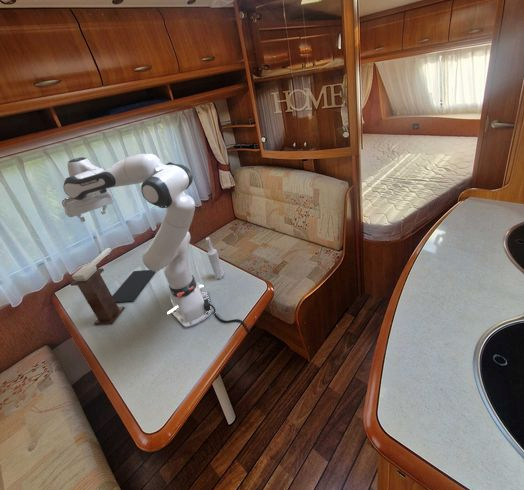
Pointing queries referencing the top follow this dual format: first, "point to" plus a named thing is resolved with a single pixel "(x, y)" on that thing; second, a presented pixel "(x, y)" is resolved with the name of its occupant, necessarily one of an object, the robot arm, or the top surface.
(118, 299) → the counter mat
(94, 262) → the brush
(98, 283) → the stand
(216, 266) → the bottle
